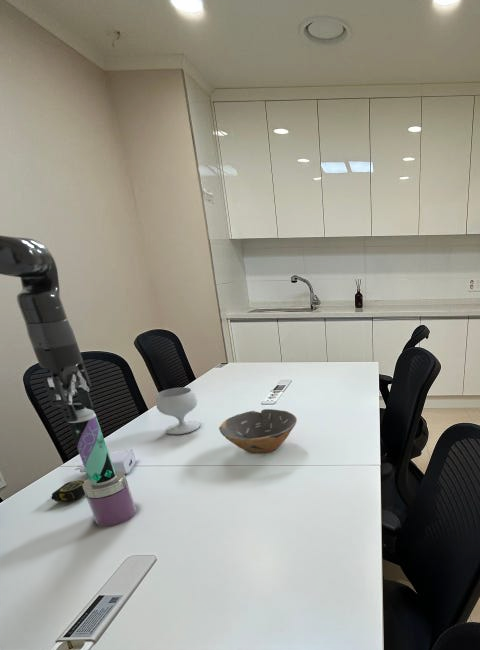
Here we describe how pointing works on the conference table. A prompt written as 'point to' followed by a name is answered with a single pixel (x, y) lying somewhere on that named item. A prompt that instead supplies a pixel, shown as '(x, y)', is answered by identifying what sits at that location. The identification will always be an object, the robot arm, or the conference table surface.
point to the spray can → (92, 446)
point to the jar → (113, 507)
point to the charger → (119, 461)
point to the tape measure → (69, 491)
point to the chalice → (177, 408)
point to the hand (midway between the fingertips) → (80, 414)
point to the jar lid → (105, 487)
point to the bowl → (258, 430)
